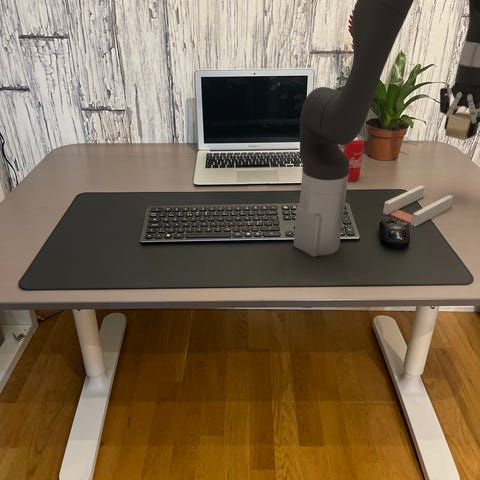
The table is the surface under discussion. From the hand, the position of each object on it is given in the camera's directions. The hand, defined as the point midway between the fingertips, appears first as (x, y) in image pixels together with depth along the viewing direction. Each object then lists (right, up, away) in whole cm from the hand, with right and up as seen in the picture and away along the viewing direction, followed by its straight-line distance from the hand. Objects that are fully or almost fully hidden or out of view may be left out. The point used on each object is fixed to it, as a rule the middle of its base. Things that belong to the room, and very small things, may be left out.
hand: (459, 134), depth 122 cm
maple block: (+1, 0, +1) cm, 1 cm away
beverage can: (-23, -9, +18) cm, 31 cm away
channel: (-10, -19, +1) cm, 21 cm away
